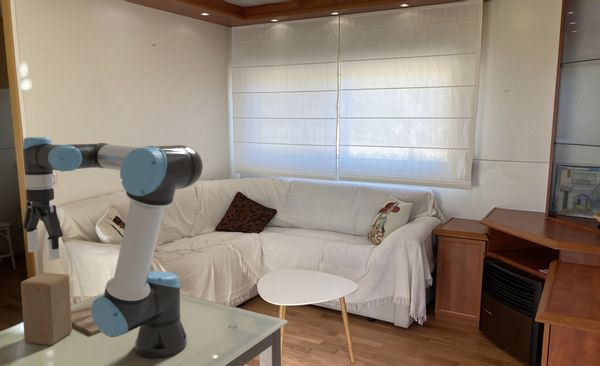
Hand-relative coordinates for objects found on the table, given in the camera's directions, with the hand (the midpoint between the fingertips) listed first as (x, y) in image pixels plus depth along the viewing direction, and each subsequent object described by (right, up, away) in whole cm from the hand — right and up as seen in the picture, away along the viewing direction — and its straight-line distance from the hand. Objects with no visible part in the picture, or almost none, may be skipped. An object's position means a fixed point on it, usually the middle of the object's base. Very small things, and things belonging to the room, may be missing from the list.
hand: (43, 255), depth 143 cm
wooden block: (0, -27, +3) cm, 27 cm away
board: (+8, -25, +17) cm, 31 cm away
